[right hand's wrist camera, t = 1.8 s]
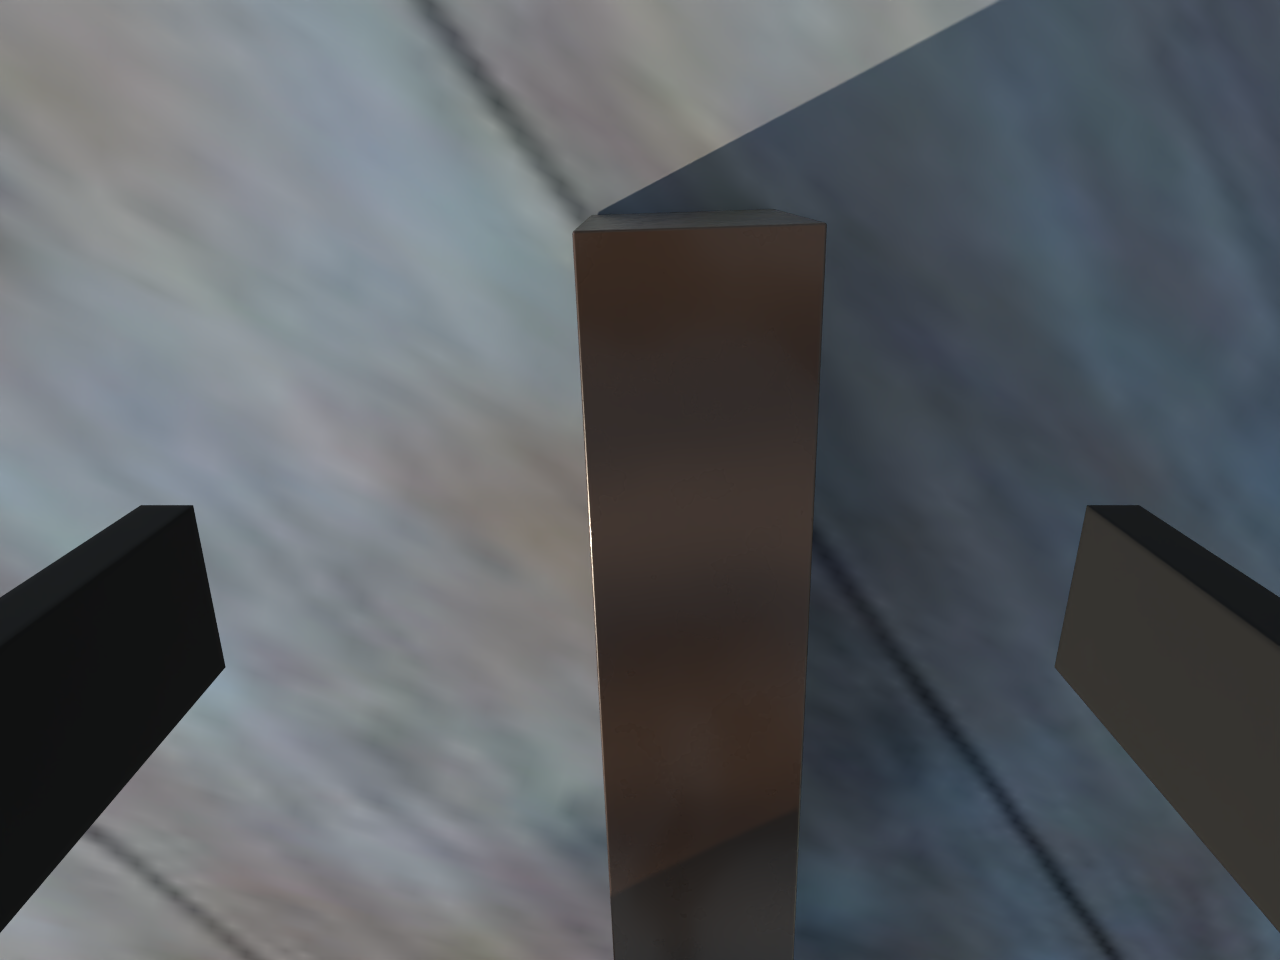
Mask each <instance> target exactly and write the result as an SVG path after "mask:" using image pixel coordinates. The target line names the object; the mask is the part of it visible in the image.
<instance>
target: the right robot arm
mask: <svg viewBox="0 0 1280 960" xmlns="http://www.w3.org/2000/svg"><path fill="white" fill-rule="evenodd" d="M224 668H225V663H224V658H223V653H222V648H221V643H220V638H219V633H218V628H217V623H216V618H215V613H214V608H213V603H212V598H211V593H210V588H209V583H208V578H207V573H206V568H205V563H204V558H203V553H202V548H201V543H200V538H199V533H198V528H197V523H196V518H195V513H194V508H193V505H141V506H139V507H138V508H136V509H135V510H133V511H131V512H130V513H128V514H127V515H125V516H124V517H122V518H121V519H119V520H118V521H116V522H115V523H113V524H112V525H110V526H109V527H107V528H106V529H104V530H103V531H101V532H99V533H98V534H96V535H95V536H93V537H92V538H90V539H89V540H87V541H86V542H84V543H83V544H81V545H80V546H78V547H77V548H75V549H74V550H72V551H70V552H69V553H67V554H66V555H64V556H63V557H61V558H60V559H58V560H57V561H55V562H54V563H52V564H51V565H49V566H48V567H46V568H45V569H43V570H42V571H40V572H38V573H37V574H35V575H34V576H32V577H31V578H29V579H28V580H26V581H25V582H23V583H22V584H20V585H19V586H17V587H16V588H14V589H13V590H11V591H9V592H8V593H6V594H5V595H3V596H2V597H0V932H1V931H2V930H3V929H4V928H5V927H6V925H7V924H8V923H9V922H10V921H11V919H12V918H13V917H14V916H15V915H16V914H17V912H18V911H19V910H20V909H21V908H22V906H23V905H24V904H25V903H26V902H27V901H28V899H29V898H30V897H31V896H32V895H33V893H34V892H35V891H36V890H37V889H38V888H39V886H40V885H41V884H42V883H43V882H44V881H45V879H46V878H47V877H48V876H49V875H50V873H51V872H52V871H53V870H54V869H55V868H56V866H57V865H58V864H59V863H60V862H61V860H62V859H63V858H64V857H65V856H66V855H67V853H68V852H69V851H70V850H71V849H72V847H73V846H74V845H75V844H76V843H77V842H78V840H79V839H80V838H81V837H82V836H83V835H84V833H85V832H86V831H87V830H88V829H89V827H90V826H91V825H92V824H93V823H94V822H95V820H96V819H97V818H98V817H99V816H100V814H101V813H102V812H103V811H104V810H105V809H106V807H107V806H108V805H109V804H110V803H111V801H112V800H113V799H114V798H115V797H116V796H117V794H118V793H119V792H120V791H121V790H122V788H123V787H124V786H125V785H126V784H127V783H128V781H129V780H130V779H131V778H132V777H133V776H134V774H135V773H136V772H137V771H138V770H139V768H140V767H141V766H142V765H143V764H144V763H145V761H146V760H147V759H148V758H149V757H150V755H151V754H152V753H153V752H154V751H155V750H156V748H157V747H158V746H159V745H160V744H161V742H162V741H163V740H164V739H165V738H166V737H167V735H168V734H169V733H170V732H171V731H172V730H173V728H174V727H175V726H176V725H177V724H178V722H179V721H180V720H181V719H182V718H183V717H184V715H185V714H186V713H187V712H188V711H189V709H190V708H191V707H192V706H193V705H194V704H195V702H196V701H197V700H198V699H199V698H200V696H201V695H202V694H203V693H204V692H205V691H206V689H207V688H208V687H209V686H210V685H211V684H212V682H213V681H214V680H215V679H216V678H217V676H218V675H219V674H220V673H221V672H222V671H223V669H224ZM1055 668H1056V669H1057V671H1058V672H1059V673H1060V674H1061V675H1062V676H1063V678H1064V679H1065V680H1066V681H1067V682H1068V684H1069V685H1070V686H1071V687H1072V688H1073V689H1074V691H1075V692H1076V693H1077V694H1078V695H1079V696H1080V698H1081V699H1082V700H1083V701H1084V702H1085V704H1086V705H1087V706H1088V707H1089V708H1090V709H1091V711H1092V712H1093V713H1094V714H1095V715H1096V717H1097V718H1098V719H1099V720H1100V721H1101V722H1102V724H1103V725H1104V726H1105V727H1106V728H1107V730H1108V731H1109V732H1110V733H1111V734H1112V735H1113V737H1114V738H1115V739H1116V740H1117V741H1118V742H1119V744H1120V745H1121V746H1122V747H1123V748H1124V750H1125V751H1126V752H1127V753H1128V754H1129V755H1130V757H1131V758H1132V759H1133V760H1134V761H1135V763H1136V764H1137V765H1138V766H1139V767H1140V768H1141V770H1142V771H1143V772H1144V773H1145V774H1146V776H1147V777H1148V778H1149V779H1150V780H1151V781H1152V783H1153V784H1154V785H1155V786H1156V787H1157V788H1158V790H1159V791H1160V792H1161V793H1162V794H1163V796H1164V797H1165V798H1166V799H1167V800H1168V801H1169V803H1170V804H1171V805H1172V806H1173V807H1174V809H1175V810H1176V811H1177V812H1178V813H1179V814H1180V816H1181V817H1182V818H1183V819H1184V820H1185V822H1186V823H1187V824H1188V825H1189V826H1190V827H1191V829H1192V830H1193V831H1194V832H1195V833H1196V835H1197V836H1198V837H1199V838H1200V839H1201V840H1202V842H1203V843H1204V844H1205V845H1206V846H1207V847H1208V849H1209V850H1210V851H1211V852H1212V853H1213V855H1214V856H1215V857H1216V858H1217V859H1218V860H1219V862H1220V863H1221V864H1222V865H1223V866H1224V868H1225V869H1226V870H1227V871H1228V872H1229V873H1230V875H1231V876H1232V877H1233V878H1234V879H1235V881H1236V882H1237V883H1238V884H1239V885H1240V886H1241V888H1242V889H1243V890H1244V891H1245V892H1246V893H1247V895H1248V896H1249V897H1250V898H1251V899H1252V901H1253V902H1254V903H1255V904H1256V905H1257V906H1258V908H1259V909H1260V910H1261V911H1262V912H1263V914H1264V915H1265V916H1266V917H1267V918H1268V919H1269V921H1270V922H1271V923H1272V924H1273V925H1274V927H1275V928H1276V929H1277V930H1278V931H1279V932H1280V597H1278V596H1277V595H1275V594H1274V593H1272V592H1271V591H1269V590H1267V589H1266V588H1264V587H1263V586H1261V585H1260V584H1258V583H1257V582H1255V581H1254V580H1252V579H1251V578H1249V577H1248V576H1246V575H1245V574H1243V573H1242V572H1240V571H1238V570H1237V569H1235V568H1234V567H1232V566H1231V565H1229V564H1228V563H1226V562H1225V561H1223V560H1222V559H1220V558H1219V557H1217V556H1216V555H1214V554H1213V553H1211V552H1210V551H1208V550H1206V549H1205V548H1203V547H1202V546H1200V545H1199V544H1197V543H1196V542H1194V541H1193V540H1191V539H1190V538H1188V537H1187V536H1185V535H1184V534H1182V533H1181V532H1179V531H1177V530H1176V529H1174V528H1173V527H1171V526H1170V525H1168V524H1167V523H1165V522H1164V521H1162V520H1161V519H1159V518H1158V517H1156V516H1155V515H1153V514H1152V513H1150V512H1149V511H1147V510H1145V509H1144V508H1142V507H1141V506H1139V505H1087V508H1086V513H1085V518H1084V523H1083V528H1082V533H1081V538H1080V543H1079V548H1078V553H1077V558H1076V563H1075V568H1074V573H1073V578H1072V583H1071V588H1070V593H1069V598H1068V603H1067V608H1066V613H1065V618H1064V623H1063V628H1062V633H1061V638H1060V643H1059V648H1058V653H1057V658H1056V663H1055Z"/></svg>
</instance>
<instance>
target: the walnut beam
mask: <svg viewBox="0 0 1280 960" xmlns="http://www.w3.org/2000/svg"><path fill="white" fill-rule="evenodd" d="M826 232H827V225H826V223H823V222H820V221H816V220H812V219H808V218H805V217H801V216H797V215H793V214H790V213H786V212H782V211H778V210H774V209H763V210H733V211H702V212H672V213H641V214H610V215H592V216H590V217H589V218H588V219H587V220H586V221H585V222H584V223H582V224H581V225H580V226H579V227H578V228H577V229H576V230H574V231H573V234H572V235H573V252H574V270H575V287H576V305H577V322H578V340H579V357H580V375H581V392H582V410H583V427H584V445H585V462H586V480H587V497H588V515H589V532H590V550H591V567H592V585H593V602H594V620H595V637H596V655H597V672H598V690H599V707H600V725H601V742H602V760H603V777H604V794H605V812H606V829H607V847H608V864H609V882H610V899H611V917H612V934H613V952H614V960H793V956H794V934H795V912H796V890H797V868H798V846H799V824H800V802H801V780H802V758H803V736H804V714H805V693H806V671H807V649H808V627H809V605H810V583H811V561H812V539H813V517H814V495H815V473H816V451H817V429H818V407H819V385H820V363H821V341H822V319H823V297H824V275H825V254H826Z"/></svg>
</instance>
